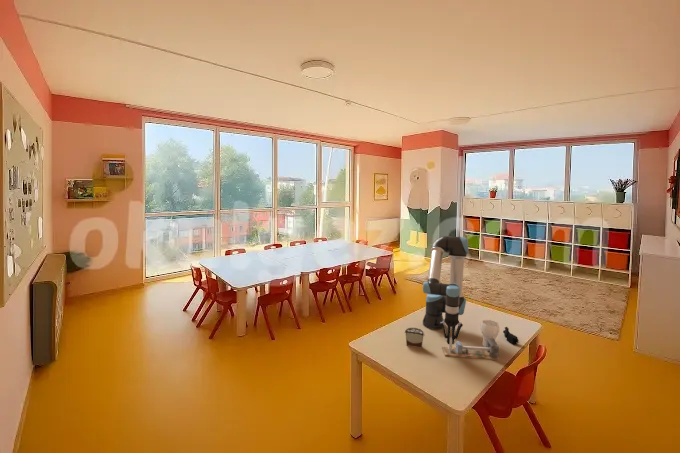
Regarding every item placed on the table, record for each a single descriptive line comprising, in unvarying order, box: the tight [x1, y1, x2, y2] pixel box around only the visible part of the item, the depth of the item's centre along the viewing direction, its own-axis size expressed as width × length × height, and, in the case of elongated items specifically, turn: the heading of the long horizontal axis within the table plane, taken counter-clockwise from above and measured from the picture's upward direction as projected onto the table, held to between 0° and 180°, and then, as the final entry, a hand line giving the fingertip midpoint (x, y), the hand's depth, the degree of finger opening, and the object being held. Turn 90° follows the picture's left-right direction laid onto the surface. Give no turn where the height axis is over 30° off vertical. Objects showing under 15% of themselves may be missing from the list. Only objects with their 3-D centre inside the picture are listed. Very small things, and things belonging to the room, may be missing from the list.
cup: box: [480, 319, 500, 347], centre depth 201 cm, size 11×11×15 cm
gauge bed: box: [441, 339, 500, 360], centre depth 192 cm, size 30×9×8 cm, turn 82°
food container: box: [404, 327, 426, 349], centre depth 204 cm, size 12×6×10 cm, turn 71°
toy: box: [502, 326, 519, 346], centre depth 209 cm, size 15×5×7 cm, turn 179°
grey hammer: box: [455, 340, 490, 355], centre depth 191 cm, size 19×7×5 cm, turn 82°
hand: (450, 348), depth 194 cm, fingers closed
